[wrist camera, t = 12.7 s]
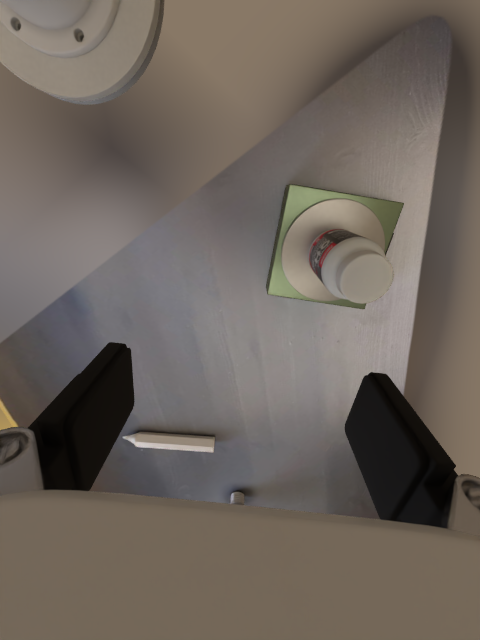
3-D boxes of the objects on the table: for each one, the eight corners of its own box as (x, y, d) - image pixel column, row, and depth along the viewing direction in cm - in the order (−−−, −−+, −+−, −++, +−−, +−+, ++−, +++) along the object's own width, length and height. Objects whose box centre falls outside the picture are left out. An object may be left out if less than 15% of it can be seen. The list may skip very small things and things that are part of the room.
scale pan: (272, 291, 32) (272, 293, 31) (293, 190, 27) (294, 190, 27) (361, 305, 32) (364, 307, 32) (398, 207, 28) (402, 207, 27)
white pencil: (125, 428, 48) (215, 435, 47) (124, 441, 48) (214, 448, 47) (118, 433, 45) (213, 441, 45) (117, 446, 45) (212, 454, 45)
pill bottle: (306, 230, 28) (332, 247, 19) (359, 225, 28) (410, 239, 19) (307, 280, 31) (330, 315, 22) (355, 275, 30) (399, 309, 21)
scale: (265, 286, 35) (267, 294, 32) (286, 184, 30) (289, 183, 27) (359, 301, 35) (368, 310, 33) (394, 203, 30) (408, 203, 28)
